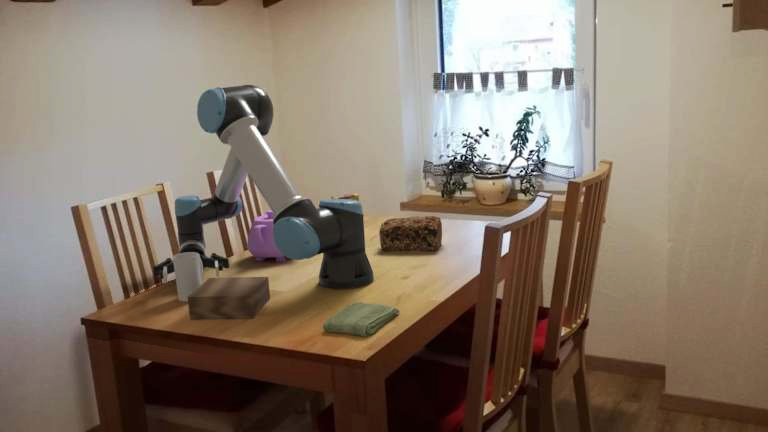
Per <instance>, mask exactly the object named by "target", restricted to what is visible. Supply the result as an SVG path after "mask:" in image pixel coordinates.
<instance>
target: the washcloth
mask: <svg viewBox="0 0 768 432" xmlns="http://www.w3.org/2000/svg"><path fill="white" fill-rule="evenodd" d="M399 313H400V310H399V309H398V308H396V307H395V306H388V305H384V304H380V303H375V302H372V303H367V302H363V301H355V302H352V303H351V304H350V303H349V304H347V306H345V307H344V308H342V309H341V310H340V311H338V312H337V313H334V314H333V315H331V316H329V318H327V319H326V320H325V321H324V322H323V325H322V329H323V331H324V332H326V333H336V334H347V335H352V336H358V337H365V338H366V337H369V336H371V335H373V334H374V333H376V332H377V331H378V330H379V329H381V328H382V327H383V326H384V325H385V324H386V323H387V322H389V321H390V320H392V318H393V317H395V316H396V315H397V314H399Z"/></svg>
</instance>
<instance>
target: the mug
mask: <svg viewBox="0 0 768 432" xmlns="http://www.w3.org/2000/svg"><path fill="white" fill-rule="evenodd" d="M172 261H173V263H174V270H175V272H174V276H175V283H176V289H177V297H178V301H179V302H184V303H188V296H189V295H190V294H192V293H193V292H194V291H195V290H196V289H197V288H198V287H200V286H201V285H202V284H203V278H204V268H203V264H202V260H201V258H200V255H199V254H198V253H196V252H185V253H180V254H179V253H176V254H174V255H173V256H172Z"/></svg>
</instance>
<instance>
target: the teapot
mask: <svg viewBox="0 0 768 432" xmlns="http://www.w3.org/2000/svg"><path fill="white" fill-rule="evenodd" d="M273 217H274V213H273V212H272V210H271V209H268V210H266V211H265V214H263V215H260V216H257V217H256V218H254V220H253V221H252V223H251V226H250V229H249V231H248V236H247V243H246V245H247V250H248V252H249V253H250V254H251V255H252V256H253V257H255V260H254V261H255V262H262V261H265V260H266V258H275V261H276V262H277V263H282V262H286V261H287V259H286V256H284V255H283V254H282V253H281V252H280V251H279V249H278V248H277V246H276V244H275V242H274V238H275V236H274V235H273V228H274V224H273Z"/></svg>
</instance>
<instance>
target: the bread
mask: <svg viewBox="0 0 768 432" xmlns="http://www.w3.org/2000/svg"><path fill="white" fill-rule="evenodd" d="M442 224H443V223H442V221H441V218H440V217H439V216H435V215H429V216H428V215H425V216H410V217H397V218H396V217H395V218H389V219H386V220H384V222H382V223H381V225H380V227H379V235H378V236H379V243H380V248H381V249H380V250H381V251H382V252H383V253H384V252H399V253H400V252H402V253H403V252H433V251H438V250H439V249H440V248H441V246H442V242H443V241H442V238H443V231H442V230H443V228H442V227H443V225H442Z"/></svg>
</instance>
